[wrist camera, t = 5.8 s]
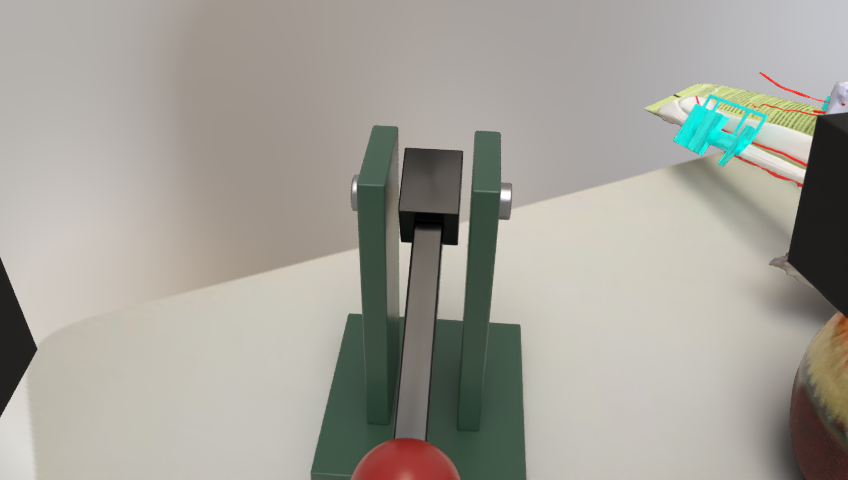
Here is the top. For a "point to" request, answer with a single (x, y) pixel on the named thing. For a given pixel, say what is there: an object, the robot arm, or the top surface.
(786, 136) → the bone model
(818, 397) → the vase
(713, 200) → the top surface
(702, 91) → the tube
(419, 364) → the lever
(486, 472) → the bracket
